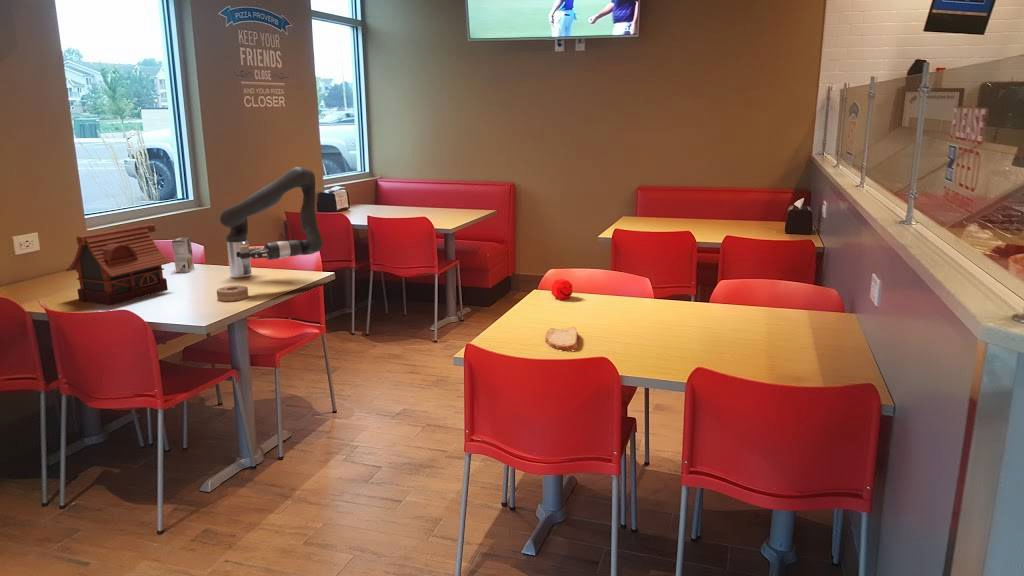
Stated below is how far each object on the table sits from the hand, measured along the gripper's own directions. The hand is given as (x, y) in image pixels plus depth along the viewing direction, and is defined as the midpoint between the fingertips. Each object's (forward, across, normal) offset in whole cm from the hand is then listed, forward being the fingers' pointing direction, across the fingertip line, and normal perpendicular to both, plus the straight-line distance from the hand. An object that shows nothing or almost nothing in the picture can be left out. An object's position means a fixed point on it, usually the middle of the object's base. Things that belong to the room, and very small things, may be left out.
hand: (238, 255), depth 310 cm
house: (+38, -37, +18) cm, 56 cm away
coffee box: (+3, -71, +18) cm, 73 cm away
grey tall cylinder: (-3, 0, +8) cm, 9 cm away
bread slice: (-61, +137, +18) cm, 151 cm away
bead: (+4, 0, +18) cm, 18 cm away
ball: (-100, +95, +18) cm, 139 cm away
